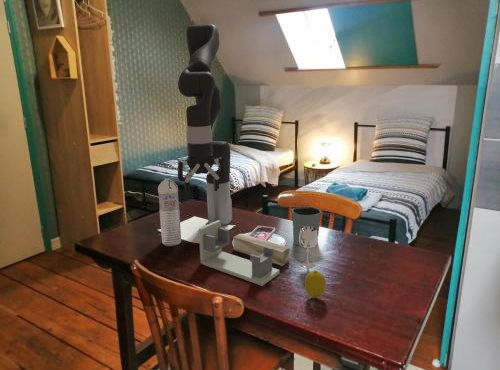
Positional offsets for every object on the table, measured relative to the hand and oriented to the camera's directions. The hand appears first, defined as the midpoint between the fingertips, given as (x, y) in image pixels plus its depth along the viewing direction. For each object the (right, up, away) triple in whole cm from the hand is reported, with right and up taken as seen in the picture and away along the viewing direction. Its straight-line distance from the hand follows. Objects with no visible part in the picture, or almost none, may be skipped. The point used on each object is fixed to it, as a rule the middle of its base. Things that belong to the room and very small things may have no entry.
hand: (202, 192), depth 123 cm
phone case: (+19, -17, +24) cm, 35 cm away
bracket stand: (+12, -24, -2) cm, 26 cm away
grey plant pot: (+35, -18, +17) cm, 43 cm away
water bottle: (-13, -19, +18) cm, 29 cm away
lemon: (+32, -28, -18) cm, 47 cm away
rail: (+18, -21, +7) cm, 29 cm away
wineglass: (+33, -23, 0) cm, 40 cm away
